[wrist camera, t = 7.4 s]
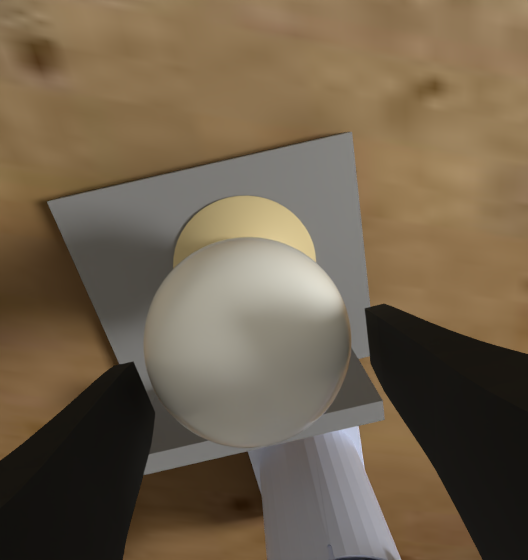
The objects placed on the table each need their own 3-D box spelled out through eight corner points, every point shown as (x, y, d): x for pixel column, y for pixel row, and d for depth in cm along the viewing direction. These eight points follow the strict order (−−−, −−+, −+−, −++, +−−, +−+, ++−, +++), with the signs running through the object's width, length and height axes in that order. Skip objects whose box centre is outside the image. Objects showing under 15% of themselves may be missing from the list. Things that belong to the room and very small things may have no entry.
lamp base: (368, 346, 23) (414, 415, 17) (145, 398, 23) (115, 484, 17) (344, 132, 18) (398, 127, 12) (58, 197, 18) (-25, 224, 12)
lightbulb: (177, 310, 19) (116, 502, 9) (182, 192, 17) (110, 266, 7) (290, 318, 20) (355, 503, 10) (309, 207, 18) (421, 294, 7)
